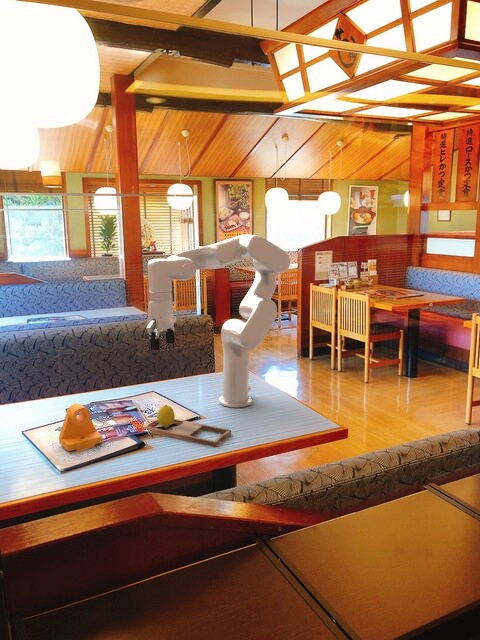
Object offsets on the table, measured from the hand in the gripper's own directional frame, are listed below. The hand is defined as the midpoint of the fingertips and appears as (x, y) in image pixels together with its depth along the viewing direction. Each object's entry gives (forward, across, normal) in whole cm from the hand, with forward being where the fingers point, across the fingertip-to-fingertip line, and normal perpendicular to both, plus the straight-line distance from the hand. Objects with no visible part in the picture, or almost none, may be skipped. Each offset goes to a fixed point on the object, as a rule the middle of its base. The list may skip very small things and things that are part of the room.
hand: (163, 346), depth 173 cm
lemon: (+25, +9, +6) cm, 27 cm away
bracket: (+24, +31, -11) cm, 41 cm away
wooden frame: (+25, +10, +13) cm, 30 cm away
